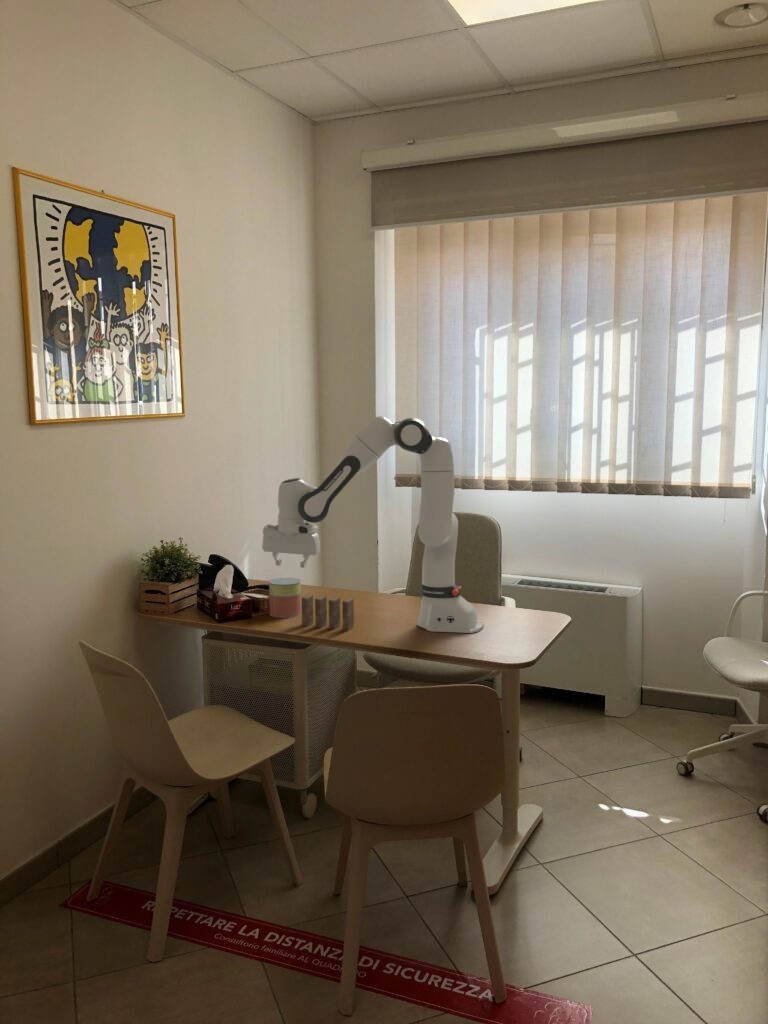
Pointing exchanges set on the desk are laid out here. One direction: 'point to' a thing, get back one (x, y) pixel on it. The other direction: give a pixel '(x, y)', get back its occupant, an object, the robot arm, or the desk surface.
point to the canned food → (285, 597)
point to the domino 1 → (307, 610)
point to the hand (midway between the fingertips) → (290, 566)
